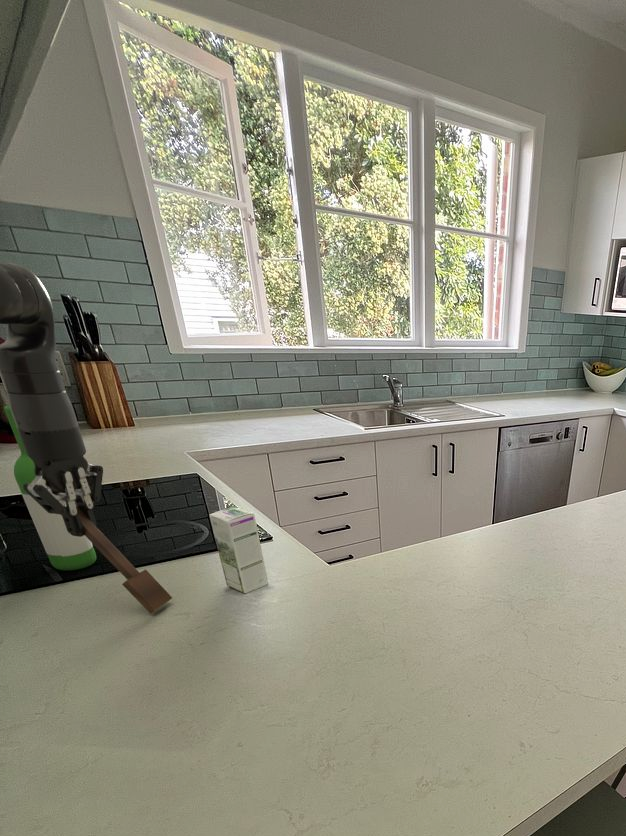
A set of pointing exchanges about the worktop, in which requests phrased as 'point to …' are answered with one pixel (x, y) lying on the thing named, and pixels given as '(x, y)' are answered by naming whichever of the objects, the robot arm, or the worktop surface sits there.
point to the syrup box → (239, 549)
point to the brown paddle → (127, 569)
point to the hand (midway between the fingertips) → (83, 532)
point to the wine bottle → (50, 519)
